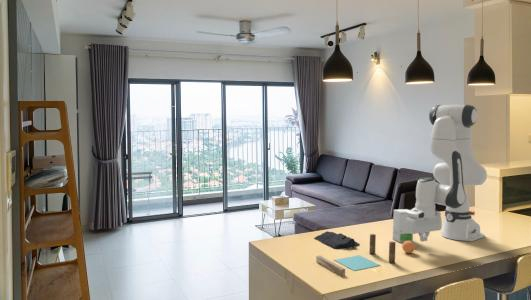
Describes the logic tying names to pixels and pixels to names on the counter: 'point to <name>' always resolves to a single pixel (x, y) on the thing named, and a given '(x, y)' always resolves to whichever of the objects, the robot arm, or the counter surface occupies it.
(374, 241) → the post
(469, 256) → the counter surface
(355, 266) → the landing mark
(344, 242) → the dark slate chunk
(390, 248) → the post
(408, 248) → the ball
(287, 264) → the counter surface
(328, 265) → the rail
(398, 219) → the skincare box
